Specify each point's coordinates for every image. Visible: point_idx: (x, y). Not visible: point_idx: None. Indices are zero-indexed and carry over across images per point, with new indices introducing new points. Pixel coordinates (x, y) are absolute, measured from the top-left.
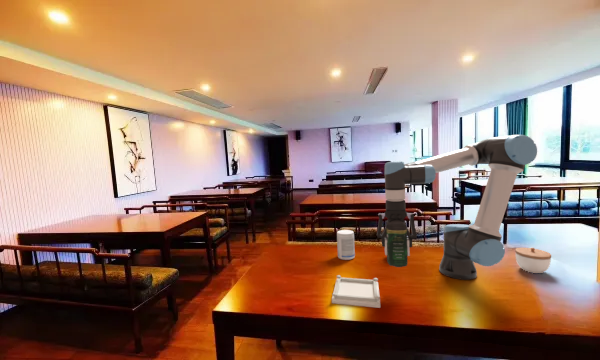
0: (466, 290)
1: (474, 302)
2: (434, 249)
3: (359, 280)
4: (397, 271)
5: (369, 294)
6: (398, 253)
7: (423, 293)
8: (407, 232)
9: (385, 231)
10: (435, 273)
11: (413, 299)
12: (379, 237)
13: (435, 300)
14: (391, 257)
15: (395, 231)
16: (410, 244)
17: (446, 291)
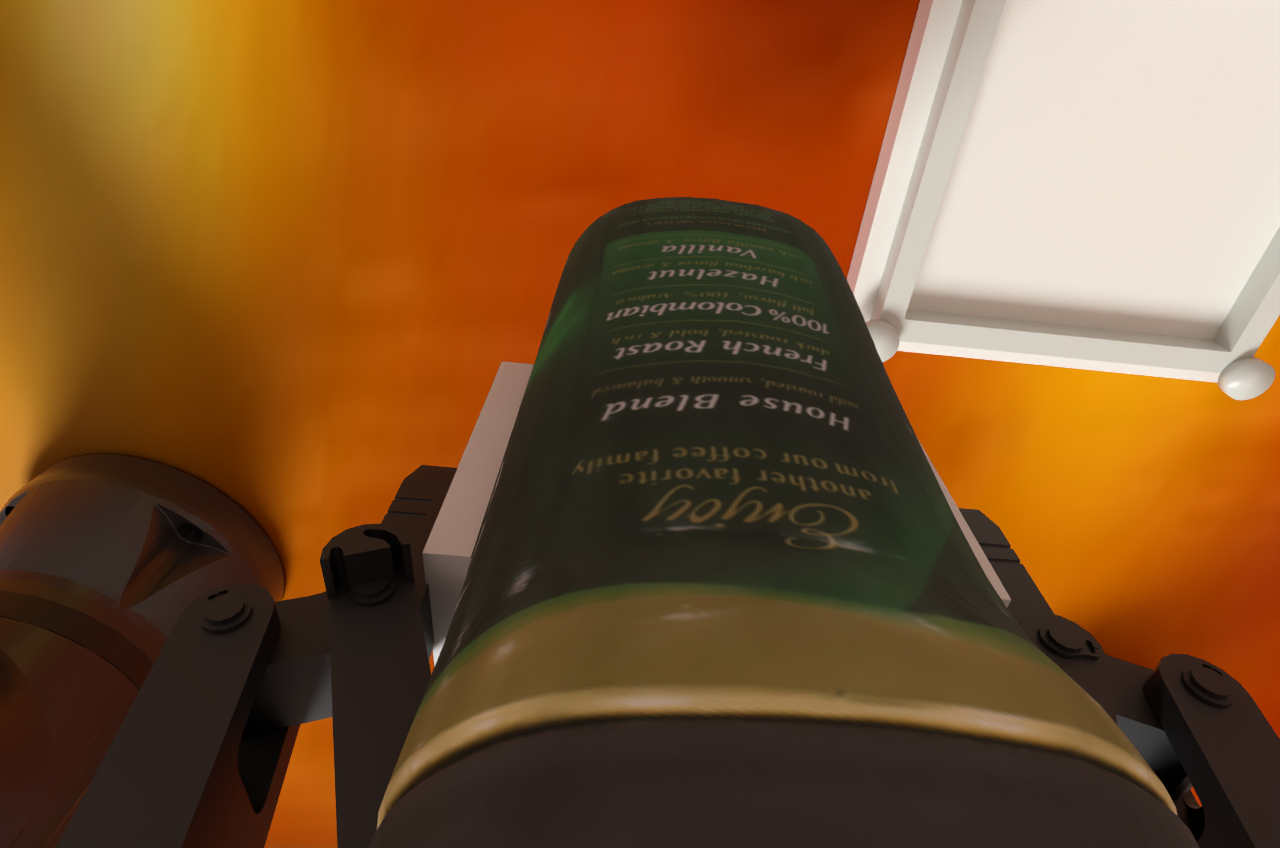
0: (99, 288)
1: (33, 71)
2: (294, 831)
3: (1038, 330)
4: None
5: (1023, 63)
6: (721, 284)
7: (456, 206)
8: (395, 745)
9: None
10: (318, 539)
11: (568, 77)
12: (1169, 659)
13: (367, 77)
14: (834, 278)
15: (927, 688)
16: (427, 504)
17: (258, 258)
